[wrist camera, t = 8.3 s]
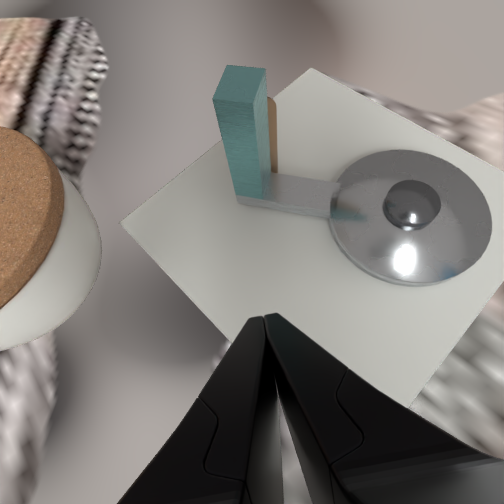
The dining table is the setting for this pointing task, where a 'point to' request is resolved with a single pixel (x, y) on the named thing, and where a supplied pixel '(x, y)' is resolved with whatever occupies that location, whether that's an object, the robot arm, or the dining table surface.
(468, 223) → the flange plate
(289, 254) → the clock board
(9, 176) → the lidded bowl
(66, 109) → the dining table surface
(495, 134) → the dining table surface
